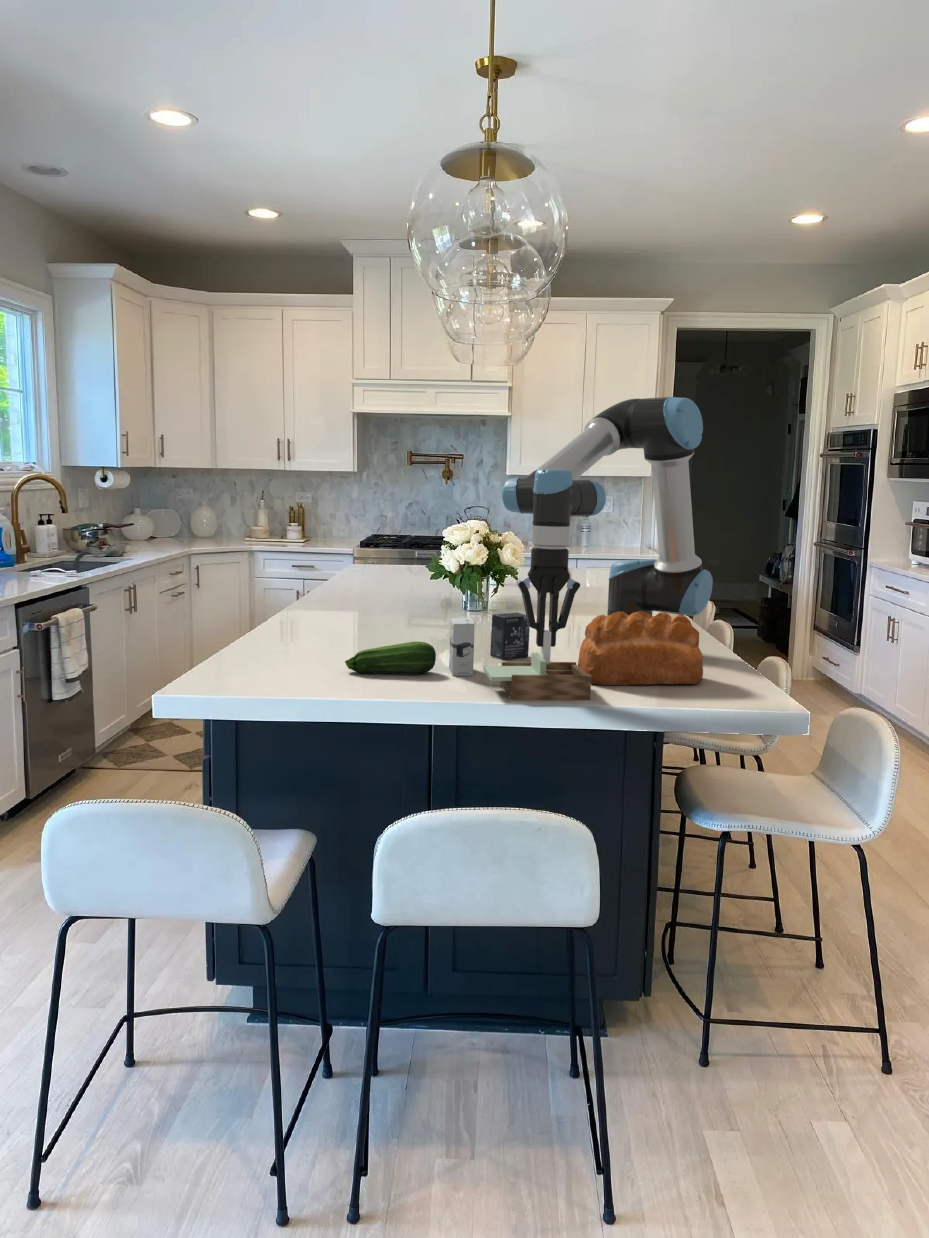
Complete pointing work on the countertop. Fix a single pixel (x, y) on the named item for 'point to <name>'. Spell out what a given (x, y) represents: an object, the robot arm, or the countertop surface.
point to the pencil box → (549, 683)
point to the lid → (517, 669)
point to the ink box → (461, 647)
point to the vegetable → (394, 659)
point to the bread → (641, 650)
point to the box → (509, 636)
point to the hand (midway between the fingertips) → (545, 662)
